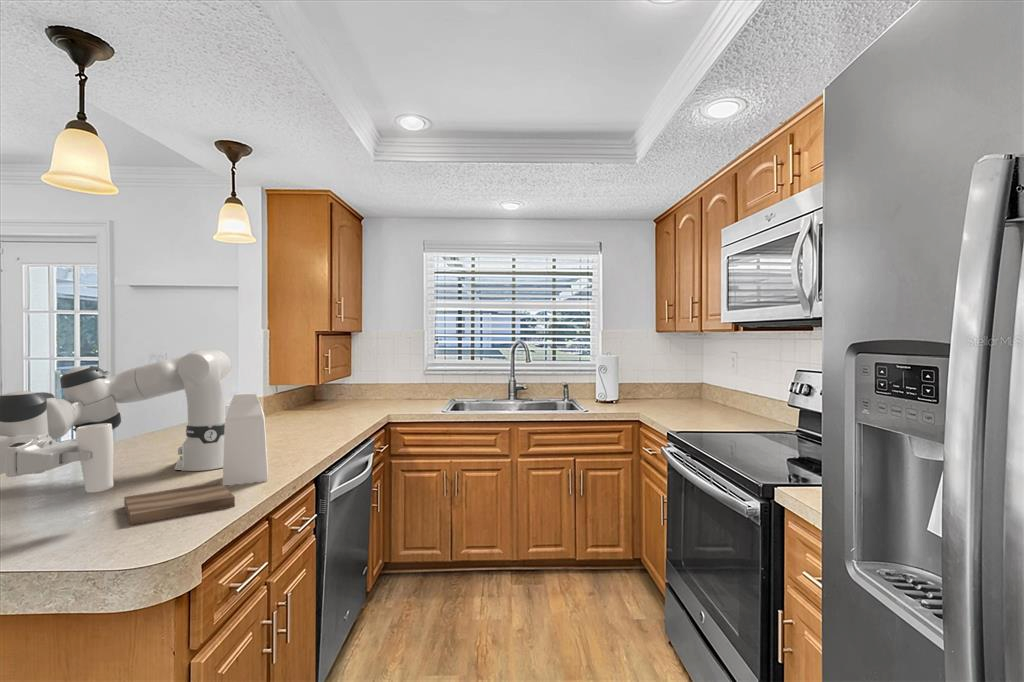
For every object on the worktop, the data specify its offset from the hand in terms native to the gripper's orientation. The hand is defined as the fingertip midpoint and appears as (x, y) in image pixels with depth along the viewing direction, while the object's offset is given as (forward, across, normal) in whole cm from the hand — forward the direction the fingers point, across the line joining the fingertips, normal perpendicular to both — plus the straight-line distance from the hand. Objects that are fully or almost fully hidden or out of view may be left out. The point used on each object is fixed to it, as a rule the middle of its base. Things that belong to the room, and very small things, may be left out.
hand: (100, 452), depth 128 cm
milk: (+20, -37, -17) cm, 45 cm away
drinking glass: (0, 0, -9) cm, 9 cm away
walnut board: (+12, -11, -17) cm, 24 cm away
